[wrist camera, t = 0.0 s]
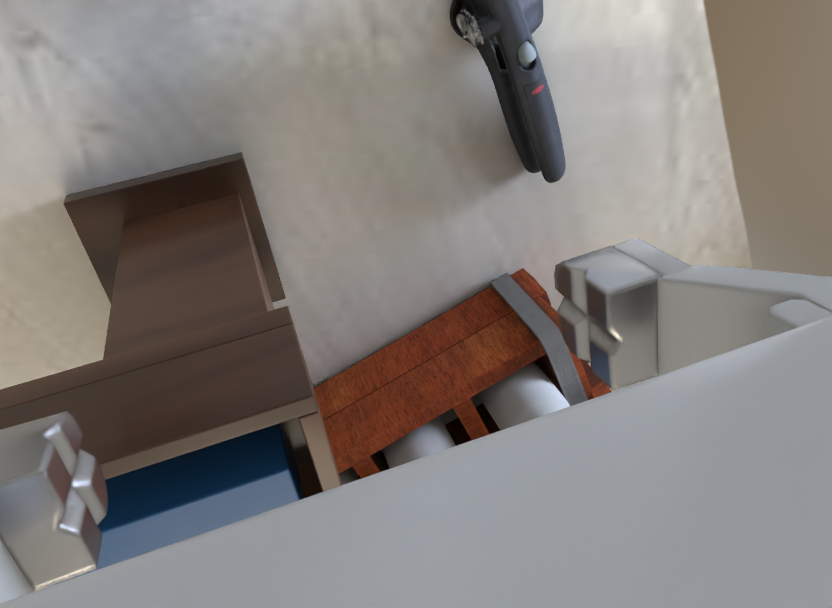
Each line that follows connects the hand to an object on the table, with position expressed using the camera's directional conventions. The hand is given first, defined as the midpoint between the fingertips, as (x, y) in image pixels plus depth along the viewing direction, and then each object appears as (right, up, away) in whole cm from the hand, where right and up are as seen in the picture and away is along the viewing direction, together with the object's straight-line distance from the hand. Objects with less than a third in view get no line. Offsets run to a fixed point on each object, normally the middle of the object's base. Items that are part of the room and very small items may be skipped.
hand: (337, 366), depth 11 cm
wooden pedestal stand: (-16, +5, +38) cm, 42 cm away
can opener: (+8, +19, +39) cm, 44 cm away
